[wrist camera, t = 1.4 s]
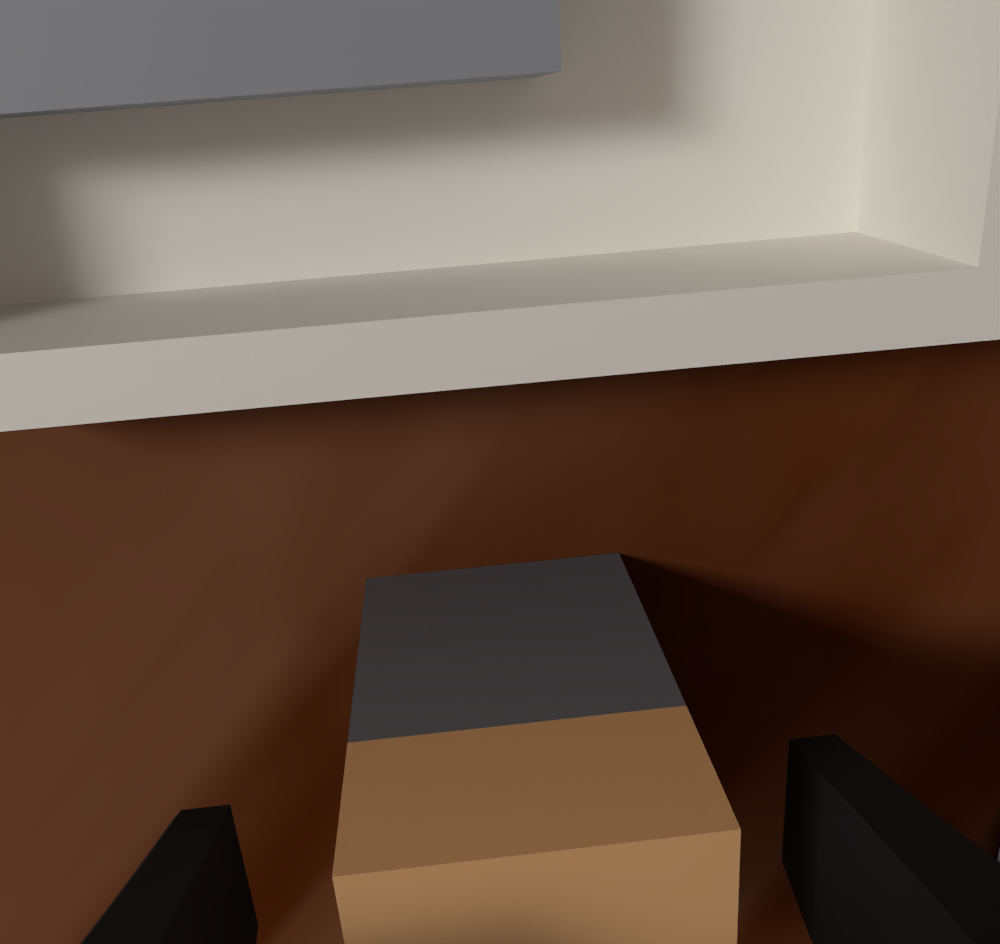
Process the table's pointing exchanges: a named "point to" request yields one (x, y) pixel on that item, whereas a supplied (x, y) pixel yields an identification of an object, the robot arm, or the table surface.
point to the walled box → (480, 193)
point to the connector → (526, 769)
